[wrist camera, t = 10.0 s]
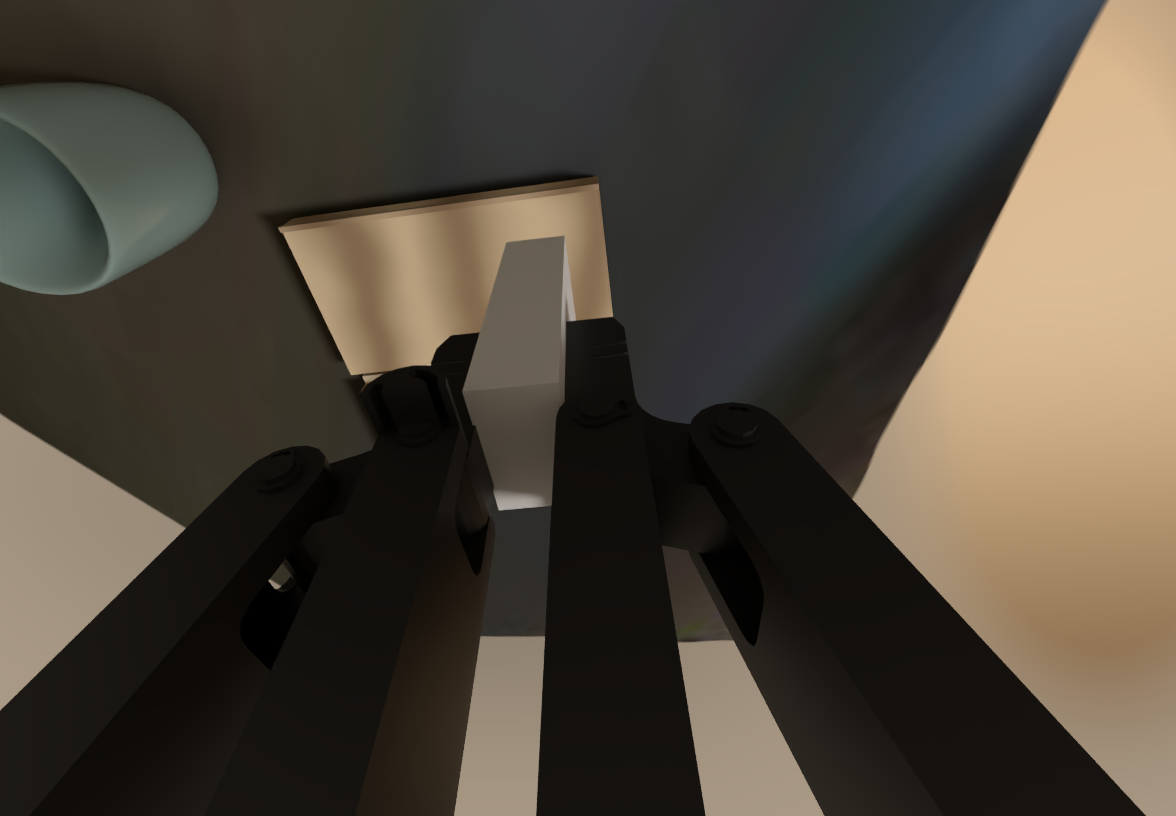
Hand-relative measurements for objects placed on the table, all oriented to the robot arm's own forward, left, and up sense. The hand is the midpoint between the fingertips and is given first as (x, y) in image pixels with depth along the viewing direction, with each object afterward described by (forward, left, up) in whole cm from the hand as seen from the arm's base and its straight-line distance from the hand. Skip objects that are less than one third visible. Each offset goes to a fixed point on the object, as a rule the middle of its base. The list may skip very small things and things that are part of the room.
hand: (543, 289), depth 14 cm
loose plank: (-7, -6, -18) cm, 21 cm away
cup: (-22, +3, -19) cm, 29 cm away
